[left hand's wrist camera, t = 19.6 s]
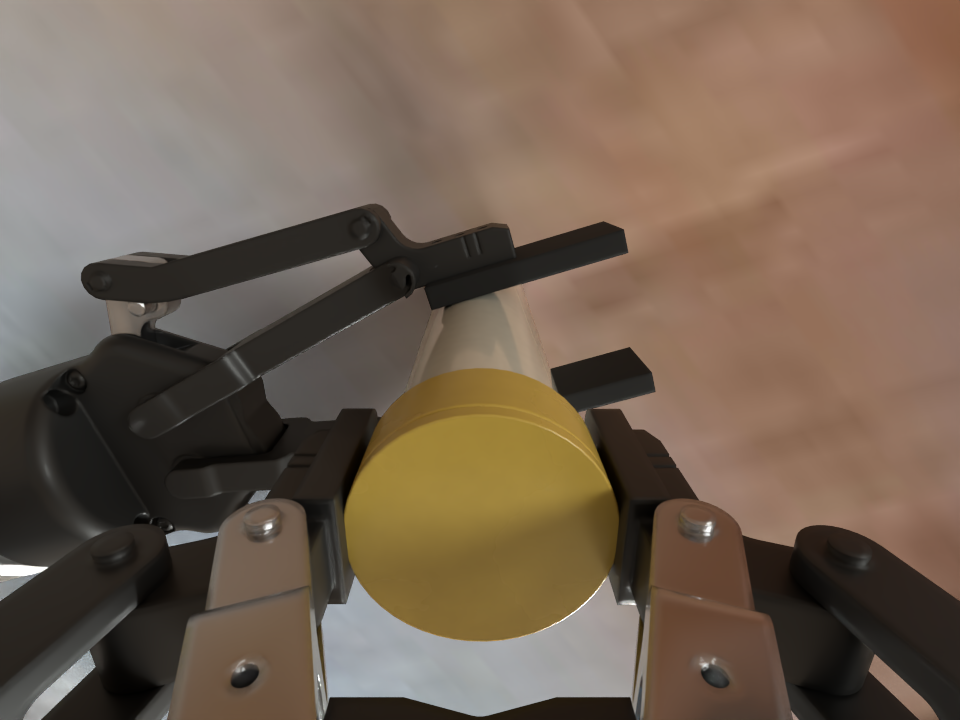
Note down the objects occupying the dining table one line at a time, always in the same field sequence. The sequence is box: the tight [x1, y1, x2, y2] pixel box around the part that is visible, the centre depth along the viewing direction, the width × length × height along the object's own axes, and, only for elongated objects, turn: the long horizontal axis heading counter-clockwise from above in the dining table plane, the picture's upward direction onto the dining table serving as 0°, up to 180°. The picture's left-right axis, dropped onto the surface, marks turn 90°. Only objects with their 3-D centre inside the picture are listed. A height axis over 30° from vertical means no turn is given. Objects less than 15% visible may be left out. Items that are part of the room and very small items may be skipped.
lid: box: [344, 368, 619, 642], centre depth 10 cm, size 5×5×2 cm
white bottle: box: [404, 284, 559, 394], centre depth 17 cm, size 4×4×16 cm
